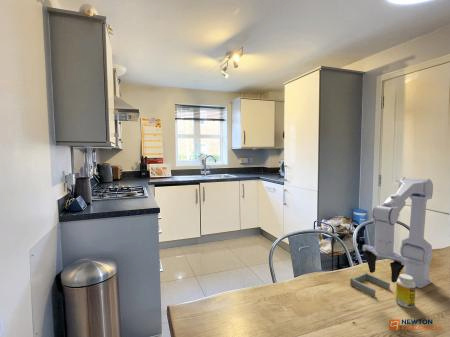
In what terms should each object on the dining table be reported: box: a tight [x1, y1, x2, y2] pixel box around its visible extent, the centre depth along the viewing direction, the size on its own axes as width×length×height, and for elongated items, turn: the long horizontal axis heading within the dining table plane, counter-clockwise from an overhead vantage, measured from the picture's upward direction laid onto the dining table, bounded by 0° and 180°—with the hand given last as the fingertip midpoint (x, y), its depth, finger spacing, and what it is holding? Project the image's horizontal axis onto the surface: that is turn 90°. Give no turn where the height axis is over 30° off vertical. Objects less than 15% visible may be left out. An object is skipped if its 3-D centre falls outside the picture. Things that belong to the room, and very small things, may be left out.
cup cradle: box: [349, 272, 391, 298], centre depth 101 cm, size 11×10×2 cm
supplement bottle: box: [395, 273, 417, 309], centre depth 89 cm, size 6×6×10 cm
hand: (382, 276), depth 89 cm, fingers open, 7 cm apart
